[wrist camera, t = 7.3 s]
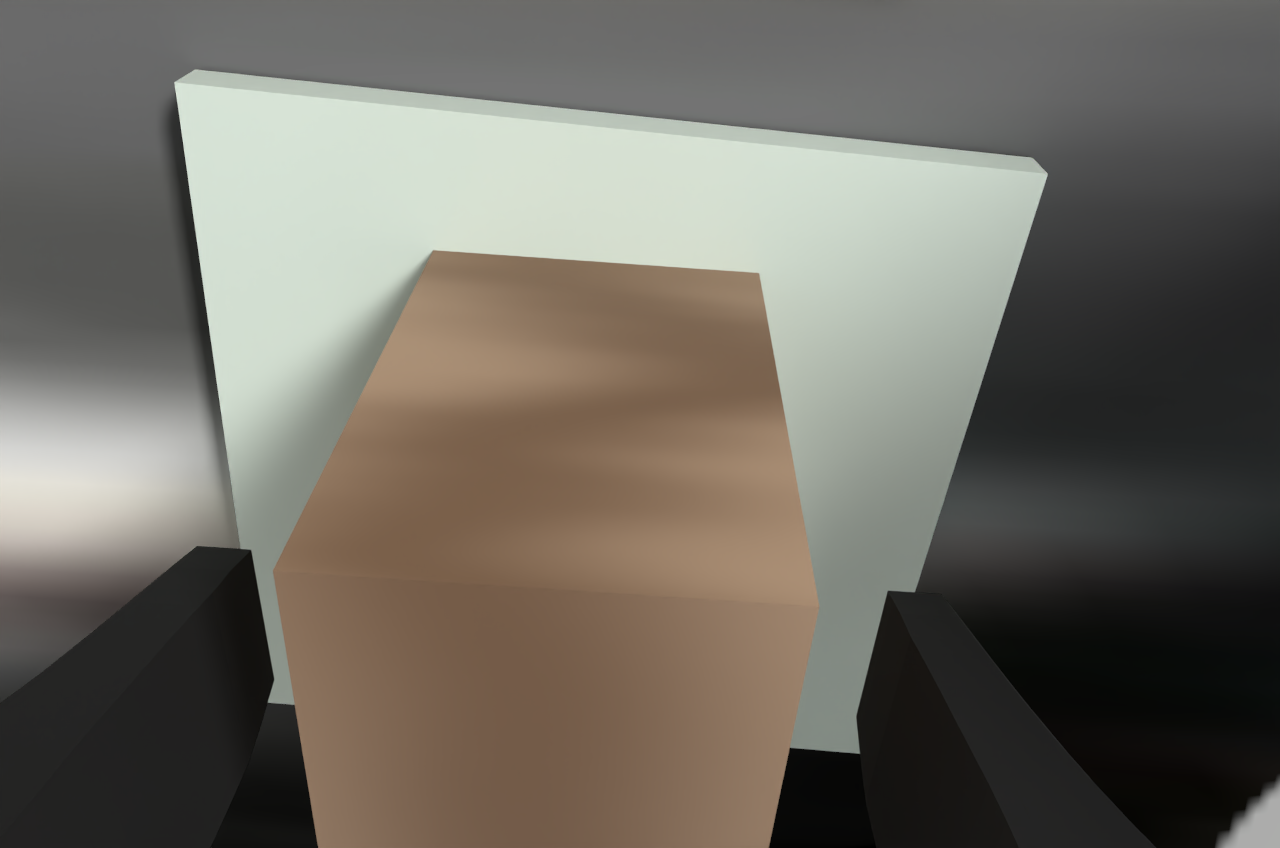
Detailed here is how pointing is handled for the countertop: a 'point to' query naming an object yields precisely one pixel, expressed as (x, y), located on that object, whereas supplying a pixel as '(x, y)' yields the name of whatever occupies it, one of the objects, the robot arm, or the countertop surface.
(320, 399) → the sage tile
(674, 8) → the countertop surface
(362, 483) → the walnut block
